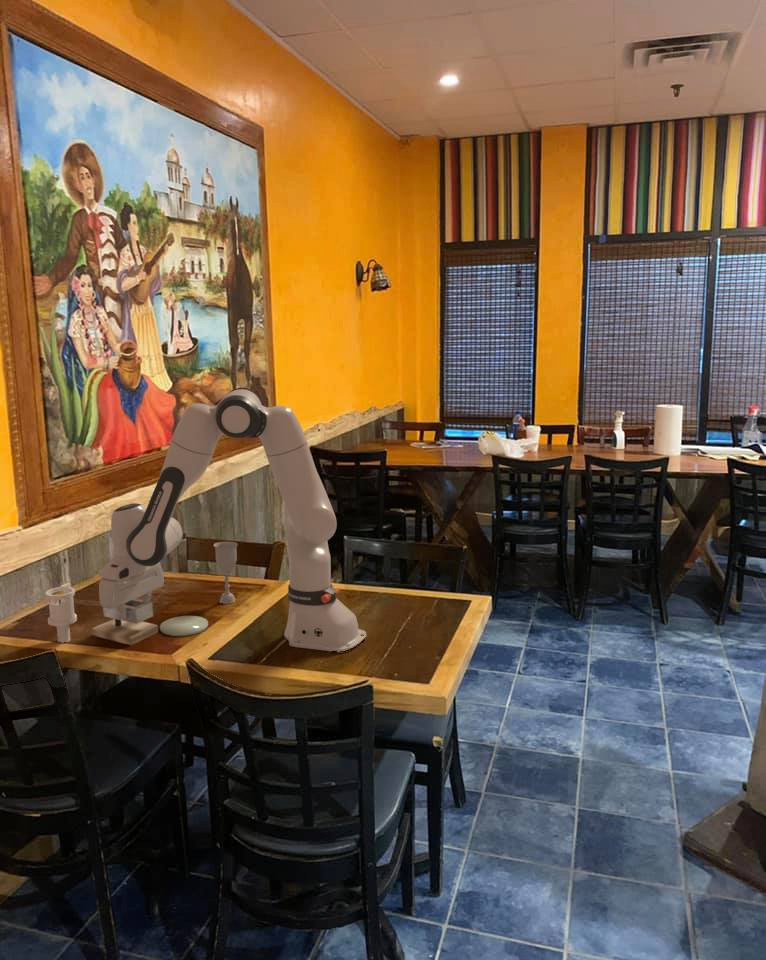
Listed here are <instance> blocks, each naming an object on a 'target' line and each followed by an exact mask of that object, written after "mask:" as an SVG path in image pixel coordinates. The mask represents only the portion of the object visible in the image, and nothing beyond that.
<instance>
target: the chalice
mask: <svg viewBox="0 0 766 960" xmlns="http://www.w3.org/2000/svg"><path fill="white" fill-rule="evenodd" d="M238 545H239V543H237V542H234V541H218V542H215V543H214V544H213V547H214V551H215V562H216V565H217V567H218V568H219V571H220V572H221V574H223V575H224V576H225V577H224V583H225V585H224V586H223V587H224V588H225V592H224V593H222V594H221V596H220V600H219V603H220V604H221V603H223V604H222V605H229V604H228V603H232V602H235V600H236V598H235V596H234V594H233V592H230V587H231V585H230V584H229V583H230V581H231V580H230V578H229V575H230V574H232V573H233V570H234V568H235V566H236V563H237V561H238V557H237V553H238V552H237V548H238ZM235 603H236V602H235ZM232 604H233V603H232Z"/></svg>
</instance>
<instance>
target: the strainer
mask: <svg viewBox="0 0 766 960" xmlns="http://www.w3.org/2000/svg"><path fill="white" fill-rule="evenodd" d="M59 592H65V593H64V594H56V595H55V593H59ZM53 594H54V595H53ZM75 595H76V589H75V588H74V587H72V583H69V582H66V583H64V584H61V585H60V586H59V587H53V588H50V589H49V590H47V591H45V598H46V599H47V600H48V608H49V609H48V611H49V617H48V618H47V623H48V625H49V626H51V627H52V626H53V627H56V632H57V633H56V635H57V643H59V642H61V643H60V644H65V643H64V642H66V643H69V642H70V641H71V632H70V629H71V628H70V625H72V624H74V623H75V622H77V620H78V615H77V614H76V613H75V605H74V604H75V603H74V596H75Z"/></svg>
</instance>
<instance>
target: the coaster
mask: <svg viewBox="0 0 766 960" xmlns="http://www.w3.org/2000/svg"><path fill="white" fill-rule="evenodd" d="M208 627H209V621H208V619H206V618H204V617H202V616H197V615H181V616H174V617H172V618H168V619H166V620H164V621H163V622H161V623H160V625H159V630H160V632H161V633H162V634H163V635H165V636H170V637H188V636H193V635H197V633H198V634H200V633H202V632H204V631H205V630H207V629H208ZM206 628H207V629H206Z"/></svg>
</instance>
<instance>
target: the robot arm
mask: <svg viewBox="0 0 766 960" xmlns="http://www.w3.org/2000/svg"><path fill="white" fill-rule="evenodd" d="M224 435H225V436H227V437H229V438H233V439H257V438H259V440H260V441H261V443H262V446H263V449H264V453H265V455H266V458H267V461H268V464H269V468H270V470H271V473H272V475H273V478H274V481H275V484H276V487H277V488H278V490H279V491H278V492H280V495H281V497H282V500H283V502H284V508H283V509H284V524H285V525H284V526H285V534H286V543H287V550H288V563H289V565H288V566H289V584H288V585H287V599H288V602H289V604H288V605H289V607H288V616H287V623H286V628H285V629H284V630H285V631H284V634H283V635H284V638H285V639H286V640H287V641H288V645H289V646H290V647H294V648H302V649H309V650H317V651H318V650H319V651H326V652H332V651H337V652H336V653H341V652H340V651H345V650H348V649H350V648H353V647H354V646H356V645H357V644H359V643H360V642H361V641H362V640H363V639H364V638H365V637H366V638H367V631H365V630H364V629H360V628H359V623H358V620H357V616H356V614H355V613H354V612H353V611H351V610H350V609H349V608H348V607H347V606H346V605H345V604H343V602H341V601H340V600H339V599H338V598H337V594H338V593H340V588H336V589H335V588H334V587H333V584H332V583H331V580H332V579H331V577H332V575H331V569H332V567H331V564H332V563H331V553H330V549H329V544H328V543H329V542H328V541H329V540H330V539H331V538H332V537H333V536H334V534H335V533H336V530H337V527H338V525H337V522H338V521H337V518H336V517H337V516H336V514H335V512H334V509H333V506H332V504H331V501H330V499H329V497H328V496H329V495H328V493H327V491H326V489H325V486H324V484H323V482H322V480H321V478H320V475H319V473H318V471H317V470H318V469H317V468H316V465H315V462H314V459H313V456H312V453H311V451H310V450H311V449H310V447H309V444H308V441H307V438H306V436H305V432H304V431H303V428H302V426H301V423H300V421H299V420H298V418H297V416H296V414H295V413H294V411H293V409H291V408H290V407H289V406H285V405H275V406H271V407H266V406H264V404H263V401H262V399H261V397H260V396H259V394H258V393H257V392H255V391H254V390H252V389H250V388H247V387H237V388H233V389H232V390H230V391H228V392H227V393H226V394H225V395H224V396H223V397H222V398H220V399H219V400H217V401H216V403H215V404H214V405H209V404H207V403H206V404H205V403H192V404H191V405H188V407H186V409H185V410H184V412H183V414H182V415H181V417H180V419H179V421H178V422H177V425H176V427H175V430H174V432H173V435H172V437H171V440H170V442H169V446H168V448H167V452H166V455H165V459H164V462H163V465H162V468H161V470H160V474H159V477H158V480H157V482H156V485H155V487H154V489H153V492H152V494H151V497H150V499H149V501H148V503H147V506H146V507H145V506H144V505H143V504H142V503H136V502H135V503H134V502H133V503H129V504H125V505H121V506H119V507H117V508H116V509H114V510H113V512H112V514H111V518H110V519H111V523H110V524H111V525H110V526H111V527H110V529H111V531H110V532H111V541H112V544H113V552H112V559H110V560H109V561H108V562H107V563H106V564H105V565H104V566H102V567H101V568H100V569H99V570H98V577H99V578H100V581H99V584H98V597H99V604H100V605H101V607H102V608H103V607H105V608H110V609H112V608H115V607H116V608H117V609H118V611H119V612H120V617H121V618H123V619H125V618H127V617H129V611H126V610H125V608H124V607H125V603H126V602H128V601H131V600H133V599H139V598H140V597H142V596H143V598H142V600H144V601H149V602H151V598H152V595H153V593H152V592H154V591H156V590H158V589H160V588H163V586H164V584H165V578H164V577H165V576H164V571H163V568H162V567H163V566H162V565H161V561H162V560H163V559H164V558H165V556H167V555H168V554H169V553H171V552H172V551H173V550H174V549H175V548H177V547H178V545H179V544H180V543H181V542H182V541H183V536H184V531H183V527H182V525H181V524H180V522H179V521H178V520H177V519H176V518H175V517H173V514H174V511H175V509H176V506H177V504H178V502H179V501H180V499H181V498H182V496H183V495H184V493H186V491H188V490H189V488H191V486H193V485H194V484H195V483H196V482H197V481H198V480H199V479H201V478H202V476H204V474H205V473H206V470H207V469H208V467H209V466H210V464H211V461H212V459H213V456H214V453H215V451H216V448H217V445H218V443H219V440H220V438H221V437H222V436H224ZM361 635H364V636H361Z"/></svg>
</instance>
